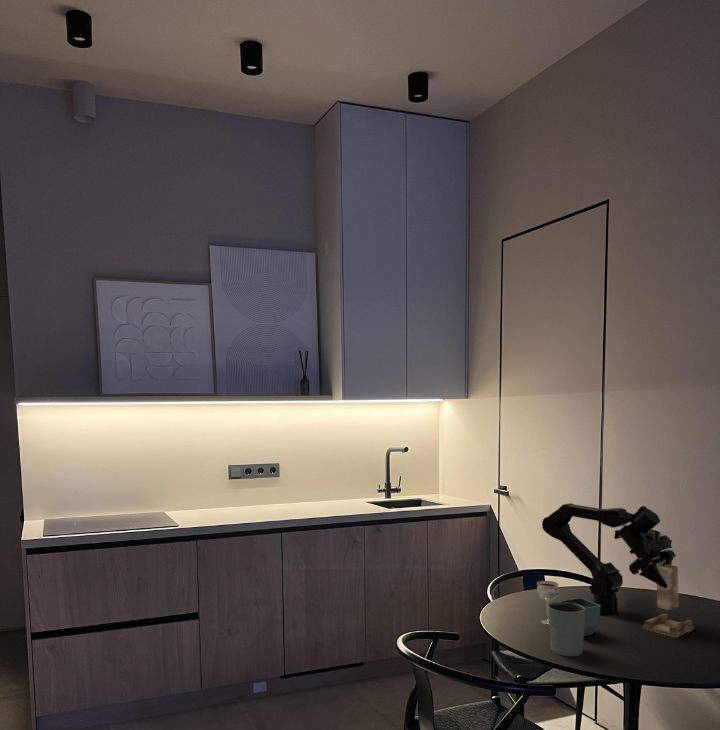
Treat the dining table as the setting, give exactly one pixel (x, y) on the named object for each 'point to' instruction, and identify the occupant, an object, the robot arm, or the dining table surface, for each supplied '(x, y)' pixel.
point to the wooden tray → (668, 626)
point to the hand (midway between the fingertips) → (671, 585)
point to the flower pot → (588, 614)
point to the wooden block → (669, 595)
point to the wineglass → (547, 593)
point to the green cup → (566, 628)
